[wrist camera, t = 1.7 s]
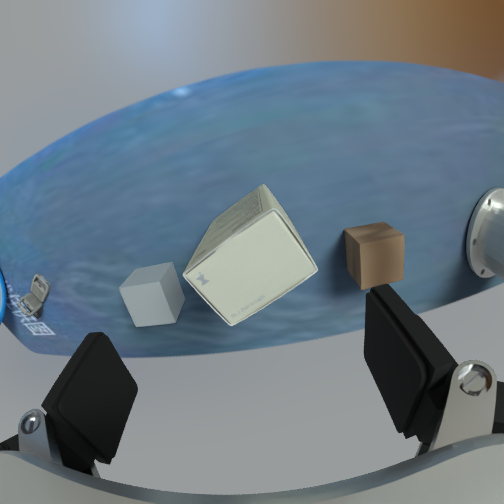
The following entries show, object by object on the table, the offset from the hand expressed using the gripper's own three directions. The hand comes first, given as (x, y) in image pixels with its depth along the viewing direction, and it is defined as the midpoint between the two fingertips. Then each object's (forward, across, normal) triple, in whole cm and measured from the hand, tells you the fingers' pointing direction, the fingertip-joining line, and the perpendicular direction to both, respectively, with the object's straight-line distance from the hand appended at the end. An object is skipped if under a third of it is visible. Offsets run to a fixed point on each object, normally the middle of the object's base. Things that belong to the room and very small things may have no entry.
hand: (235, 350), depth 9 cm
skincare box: (+18, -1, 0) cm, 18 cm away
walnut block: (+18, -12, +5) cm, 22 cm away
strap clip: (+19, +31, +4) cm, 37 cm away
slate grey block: (+18, +10, +5) cm, 22 cm away
